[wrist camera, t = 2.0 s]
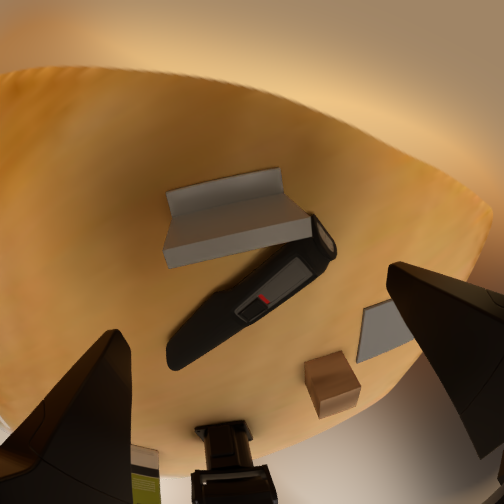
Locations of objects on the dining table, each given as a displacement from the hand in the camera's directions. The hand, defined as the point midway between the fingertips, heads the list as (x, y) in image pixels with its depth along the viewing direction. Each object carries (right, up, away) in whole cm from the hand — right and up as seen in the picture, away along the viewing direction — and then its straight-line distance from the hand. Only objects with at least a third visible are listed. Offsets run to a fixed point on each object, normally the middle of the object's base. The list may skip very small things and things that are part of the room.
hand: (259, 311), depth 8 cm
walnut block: (+7, -10, +18) cm, 22 cm away
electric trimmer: (-1, -1, +12) cm, 12 cm away
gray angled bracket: (-2, +4, +9) cm, 10 cm away
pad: (+15, -6, +17) cm, 23 cm away
